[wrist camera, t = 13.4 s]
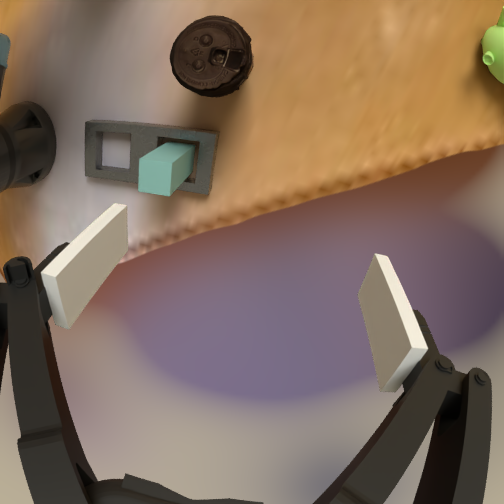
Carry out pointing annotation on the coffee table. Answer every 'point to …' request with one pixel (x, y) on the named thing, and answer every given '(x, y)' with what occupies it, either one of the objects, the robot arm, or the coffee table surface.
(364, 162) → the coffee table surface
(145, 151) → the grey flat frame
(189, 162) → the teal brick
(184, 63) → the coffee cup
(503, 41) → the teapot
